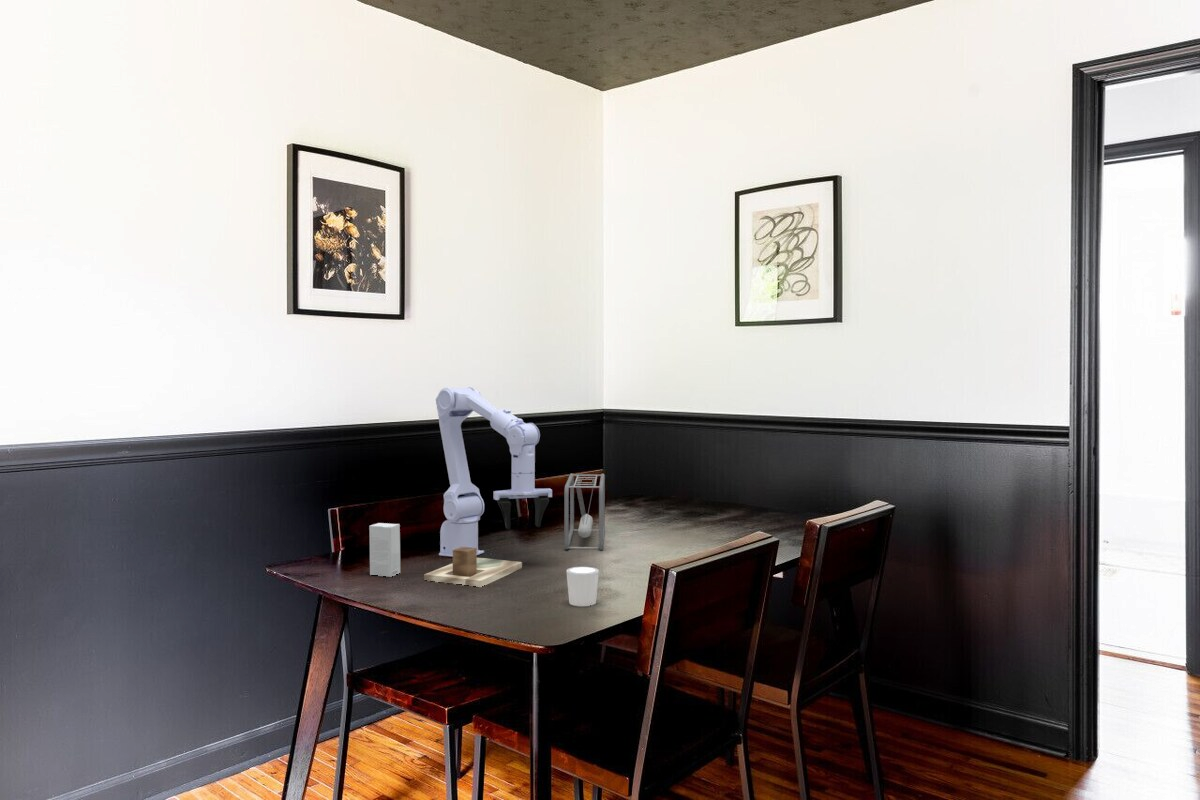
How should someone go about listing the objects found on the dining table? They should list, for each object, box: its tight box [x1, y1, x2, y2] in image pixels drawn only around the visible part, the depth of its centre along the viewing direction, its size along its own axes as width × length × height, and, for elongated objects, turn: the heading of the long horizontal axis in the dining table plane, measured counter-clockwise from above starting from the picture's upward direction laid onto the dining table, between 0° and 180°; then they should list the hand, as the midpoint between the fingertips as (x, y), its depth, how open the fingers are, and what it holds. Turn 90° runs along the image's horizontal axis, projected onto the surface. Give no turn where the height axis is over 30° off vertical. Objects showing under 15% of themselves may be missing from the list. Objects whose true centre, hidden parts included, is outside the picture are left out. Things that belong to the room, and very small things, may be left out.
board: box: [423, 557, 523, 588], centre depth 203 cm, size 15×20×2 cm
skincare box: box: [368, 522, 401, 578], centre depth 203 cm, size 6×4×12 cm
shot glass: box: [566, 566, 600, 607], centre depth 179 cm, size 7×7×7 cm
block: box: [452, 547, 478, 577], centre depth 199 cm, size 4×4×7 cm
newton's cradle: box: [563, 473, 606, 551], centre depth 244 cm, size 30×10×18 cm, turn 179°
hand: (522, 527), depth 211 cm, fingers open, 7 cm apart
